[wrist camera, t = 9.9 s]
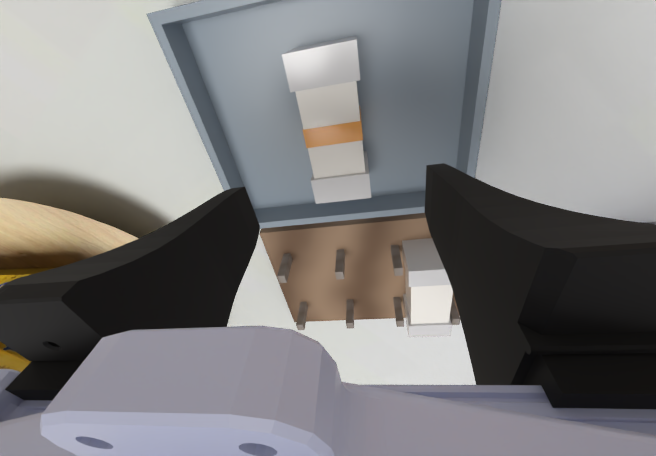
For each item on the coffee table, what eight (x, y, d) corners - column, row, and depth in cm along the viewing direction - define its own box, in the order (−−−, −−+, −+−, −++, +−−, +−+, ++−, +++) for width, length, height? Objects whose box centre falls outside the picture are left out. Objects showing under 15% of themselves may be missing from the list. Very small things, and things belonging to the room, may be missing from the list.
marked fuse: (356, 35, 15) (356, 39, 12) (368, 172, 20) (371, 197, 17) (294, 47, 15) (281, 54, 13) (321, 178, 20) (316, 203, 17)
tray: (488, -61, 13) (512, -75, 11) (458, 189, 20) (470, 208, 18) (173, 14, 15) (146, 14, 13) (251, 211, 23) (241, 230, 21)
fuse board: (478, 205, 21) (497, 234, 18) (460, 306, 28) (473, 340, 25) (262, 225, 24) (250, 254, 21) (296, 313, 31) (290, 344, 28)
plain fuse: (447, 236, 22) (460, 268, 19) (440, 303, 26) (450, 336, 24) (401, 240, 22) (408, 271, 20) (403, 304, 27) (408, 337, 24)
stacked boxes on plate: (241, 353, 37) (178, 544, 23) (58, 335, 38) (-105, 511, 24) (198, 186, 22) (-43, 446, 9) (-104, 162, 23) (-756, 368, 9)
